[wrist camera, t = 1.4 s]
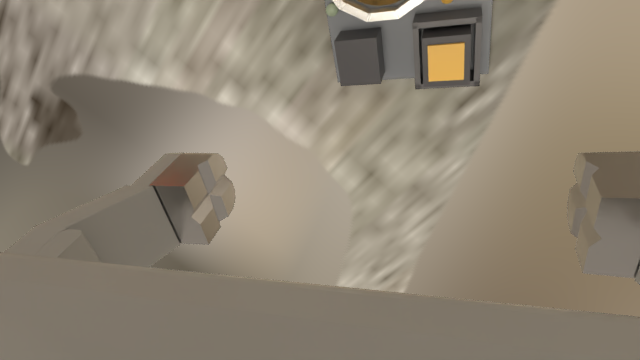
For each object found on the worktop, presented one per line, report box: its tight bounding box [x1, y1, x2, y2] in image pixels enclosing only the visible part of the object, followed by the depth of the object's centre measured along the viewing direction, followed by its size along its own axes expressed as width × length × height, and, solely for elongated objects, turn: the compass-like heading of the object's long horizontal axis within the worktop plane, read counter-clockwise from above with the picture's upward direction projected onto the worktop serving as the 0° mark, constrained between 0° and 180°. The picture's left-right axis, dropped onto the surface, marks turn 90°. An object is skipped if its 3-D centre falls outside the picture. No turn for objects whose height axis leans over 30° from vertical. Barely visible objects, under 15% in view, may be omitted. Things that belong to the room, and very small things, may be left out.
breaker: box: [422, 24, 471, 87], centre depth 30 cm, size 4×3×2 cm
